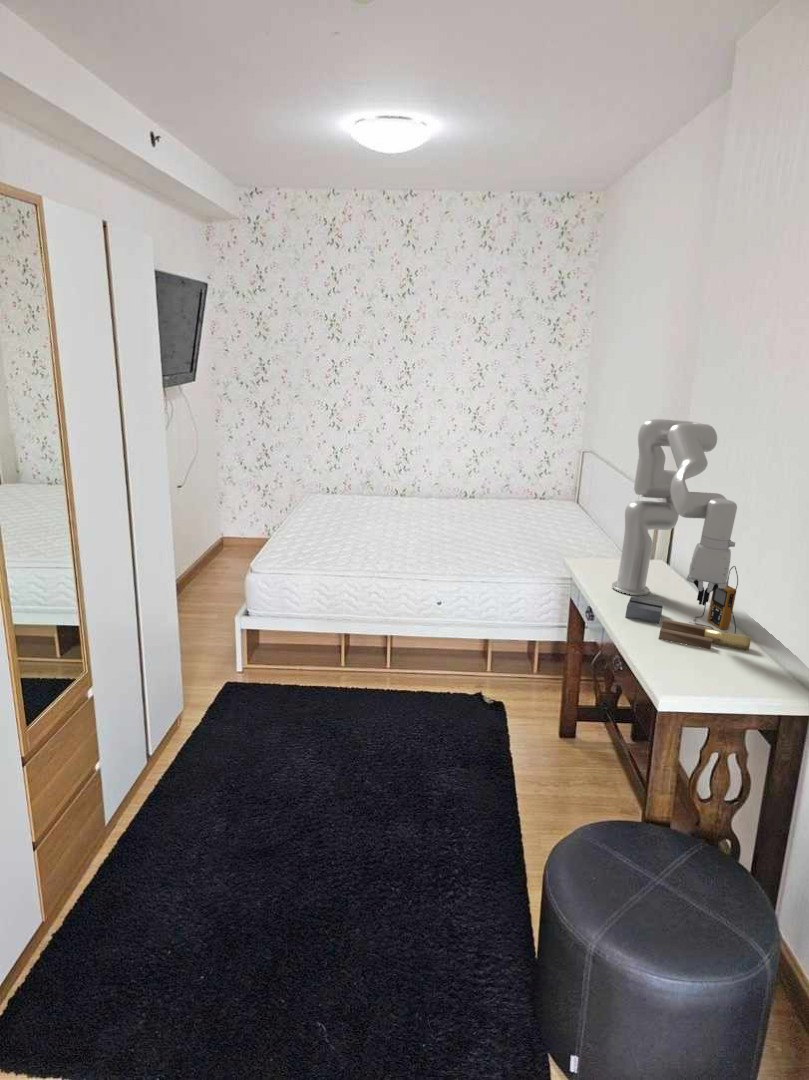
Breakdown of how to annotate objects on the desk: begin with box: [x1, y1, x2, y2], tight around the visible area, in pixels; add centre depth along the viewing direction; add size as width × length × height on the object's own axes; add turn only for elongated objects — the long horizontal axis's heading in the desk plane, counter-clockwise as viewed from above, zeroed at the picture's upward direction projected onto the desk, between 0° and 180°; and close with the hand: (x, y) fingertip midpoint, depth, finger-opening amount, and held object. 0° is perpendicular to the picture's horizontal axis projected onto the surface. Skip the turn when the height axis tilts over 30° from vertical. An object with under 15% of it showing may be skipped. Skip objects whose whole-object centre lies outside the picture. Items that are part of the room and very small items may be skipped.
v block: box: [625, 595, 664, 625], centre depth 227 cm, size 10×10×4 cm
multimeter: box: [688, 565, 739, 634], centre depth 220 cm, size 15×10×20 cm
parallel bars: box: [658, 618, 713, 651], centre depth 212 cm, size 12×14×2 cm
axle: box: [704, 627, 752, 652], centre depth 208 cm, size 12×4×4 cm, turn 67°
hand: (701, 603), depth 208 cm, fingers closed
